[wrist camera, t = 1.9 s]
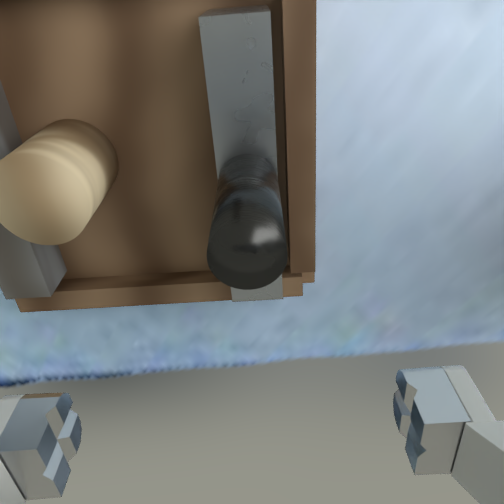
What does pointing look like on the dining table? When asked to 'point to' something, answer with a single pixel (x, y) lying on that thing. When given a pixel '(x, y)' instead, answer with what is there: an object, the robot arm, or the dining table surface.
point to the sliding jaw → (244, 153)
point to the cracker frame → (147, 145)
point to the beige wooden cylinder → (56, 181)
